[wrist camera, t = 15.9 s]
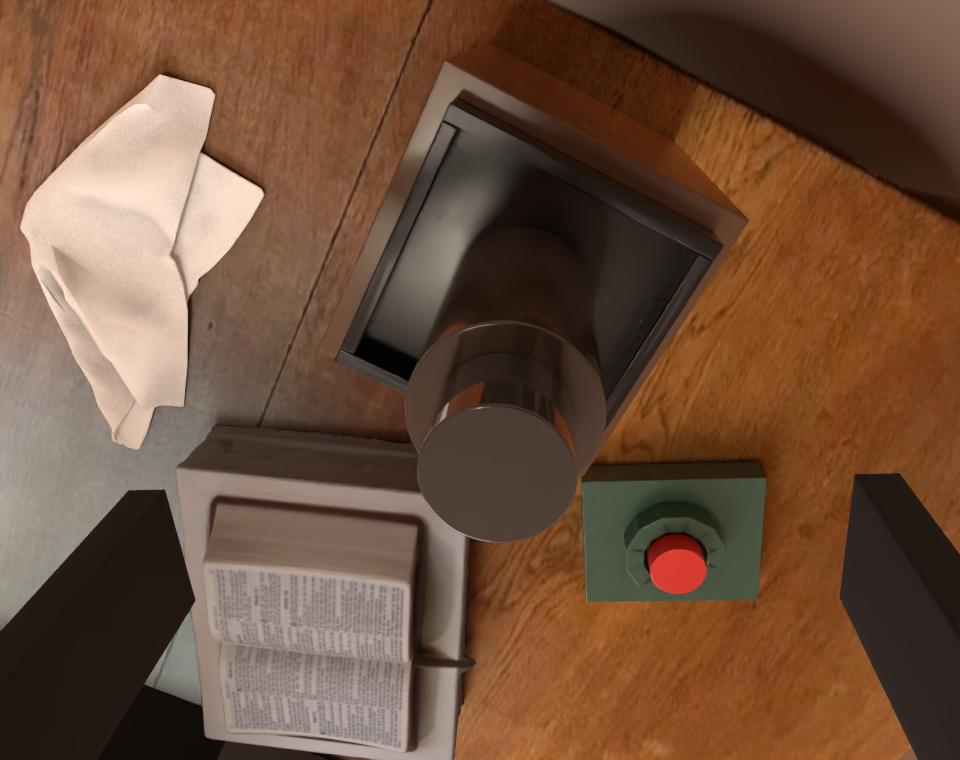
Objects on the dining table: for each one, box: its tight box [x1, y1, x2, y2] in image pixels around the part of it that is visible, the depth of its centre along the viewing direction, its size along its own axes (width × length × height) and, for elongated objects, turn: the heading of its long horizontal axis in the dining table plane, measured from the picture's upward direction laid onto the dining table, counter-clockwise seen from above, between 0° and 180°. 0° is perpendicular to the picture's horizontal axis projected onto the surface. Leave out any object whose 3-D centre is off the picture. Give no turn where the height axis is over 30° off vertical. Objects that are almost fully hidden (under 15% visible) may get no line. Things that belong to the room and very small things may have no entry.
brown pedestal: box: [318, 42, 749, 476], centre depth 38 cm, size 12×12×22 cm
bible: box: [175, 424, 476, 760], centre depth 57 cm, size 23×27×10 cm
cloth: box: [20, 74, 265, 450], centre depth 52 cm, size 26×14×2 cm, turn 152°
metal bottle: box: [405, 226, 606, 543], centre depth 24 cm, size 5×5×13 cm
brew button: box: [648, 534, 707, 594], centre depth 53 cm, size 4×4×2 cm
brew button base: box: [581, 461, 767, 601], centre depth 55 cm, size 12×10×4 cm
